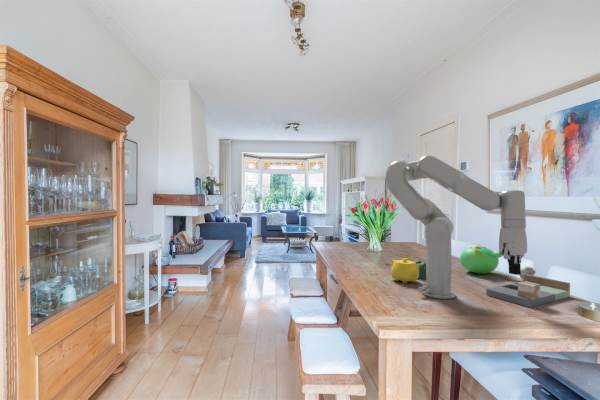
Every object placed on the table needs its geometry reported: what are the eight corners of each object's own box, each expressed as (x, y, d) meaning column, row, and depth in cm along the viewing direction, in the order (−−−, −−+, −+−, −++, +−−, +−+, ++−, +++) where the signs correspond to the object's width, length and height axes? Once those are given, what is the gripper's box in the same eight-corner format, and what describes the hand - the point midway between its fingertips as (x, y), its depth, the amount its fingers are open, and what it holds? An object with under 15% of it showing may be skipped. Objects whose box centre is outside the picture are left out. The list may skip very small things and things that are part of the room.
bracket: (421, 279, 150) (421, 263, 150) (411, 276, 157) (411, 260, 157) (447, 275, 158) (447, 260, 158) (437, 272, 164) (437, 258, 164)
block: (532, 299, 112) (532, 286, 112) (517, 295, 116) (517, 282, 116) (540, 297, 114) (540, 284, 114) (525, 294, 119) (525, 281, 119)
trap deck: (529, 307, 111) (529, 292, 111) (486, 294, 126) (486, 281, 125) (569, 296, 123) (569, 282, 123) (526, 286, 138) (526, 274, 138)
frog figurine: (530, 283, 142) (530, 268, 142) (515, 279, 149) (515, 265, 149) (538, 282, 144) (538, 267, 144) (523, 278, 151) (523, 264, 151)
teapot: (429, 284, 141) (429, 261, 141) (412, 287, 136) (412, 263, 136) (400, 275, 157) (400, 254, 157) (383, 278, 152) (383, 256, 152)
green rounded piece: (485, 269, 171) (485, 242, 171) (507, 276, 155) (507, 247, 154) (454, 269, 170) (454, 243, 170) (473, 277, 153) (473, 248, 153)
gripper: (514, 222, 120) (515, 269, 119) (490, 224, 113) (491, 274, 113) (536, 223, 113) (537, 273, 113) (511, 225, 106) (513, 278, 106)
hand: (514, 273), depth 113 cm, fingers closed
